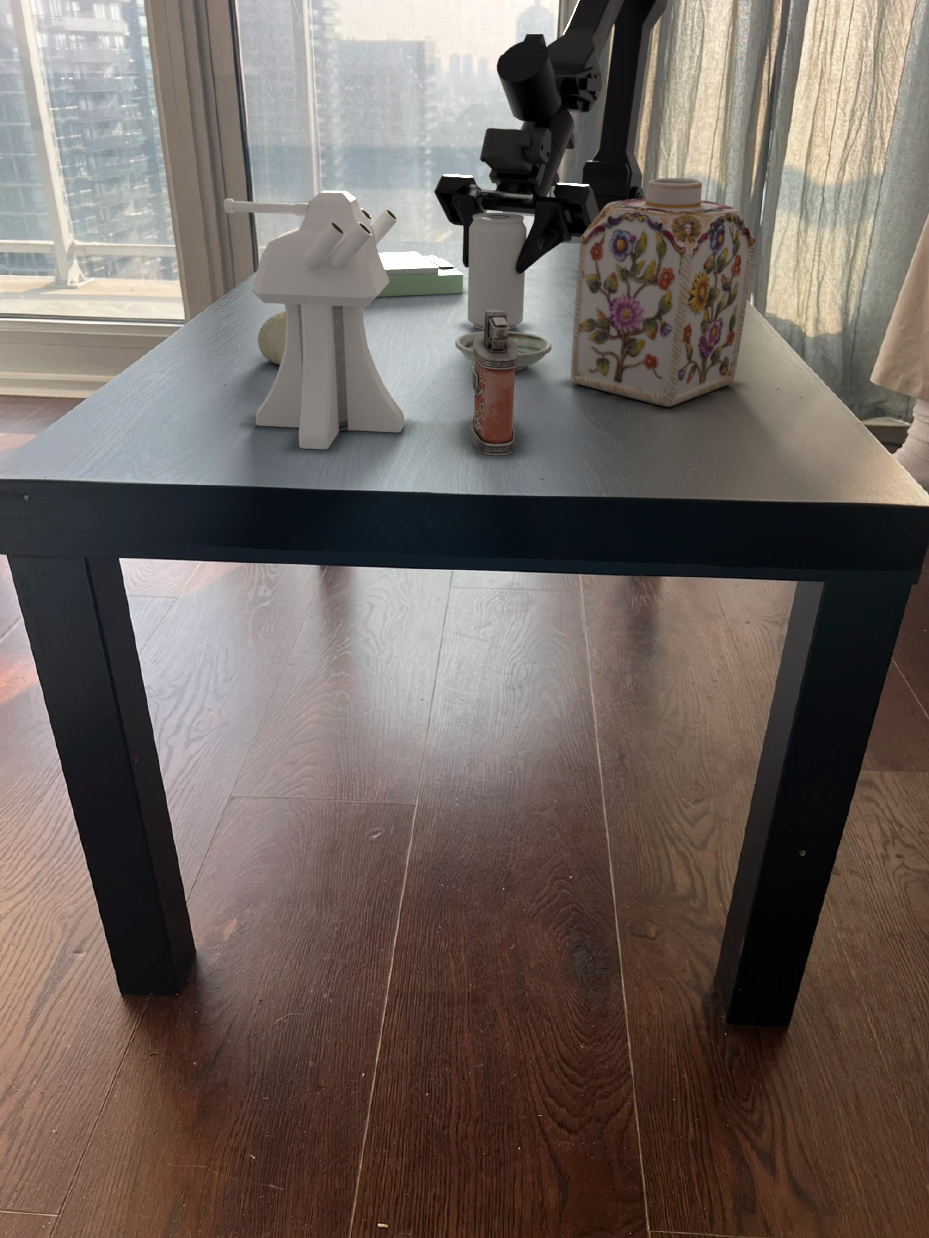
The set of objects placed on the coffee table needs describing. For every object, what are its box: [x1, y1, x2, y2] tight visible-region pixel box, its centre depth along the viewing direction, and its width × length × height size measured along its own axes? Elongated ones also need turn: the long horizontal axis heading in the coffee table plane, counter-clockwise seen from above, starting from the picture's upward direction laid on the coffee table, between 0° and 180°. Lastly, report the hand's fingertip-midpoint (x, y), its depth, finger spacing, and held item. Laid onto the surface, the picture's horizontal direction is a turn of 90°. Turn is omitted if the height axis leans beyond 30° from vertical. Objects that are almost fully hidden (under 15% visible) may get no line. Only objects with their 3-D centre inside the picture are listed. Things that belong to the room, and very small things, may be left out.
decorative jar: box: [570, 177, 756, 408], centre depth 89 cm, size 12×12×18 cm
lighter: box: [470, 310, 518, 456], centre depth 77 cm, size 8×3×10 cm, turn 5°
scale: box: [376, 251, 464, 298], centre depth 132 cm, size 16×14×3 cm
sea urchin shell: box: [257, 310, 286, 366], centre depth 98 cm, size 9×8×8 cm
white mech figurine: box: [223, 189, 405, 450], centre depth 77 cm, size 12×13×18 cm
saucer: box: [454, 330, 553, 372], centre depth 98 cm, size 10×10×2 cm
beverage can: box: [467, 212, 528, 331], centre depth 111 cm, size 6×6×12 cm
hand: (491, 268), depth 109 cm, fingers closed on beverage can, 6 cm apart
